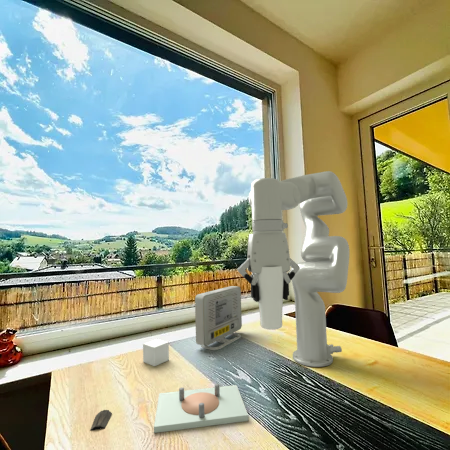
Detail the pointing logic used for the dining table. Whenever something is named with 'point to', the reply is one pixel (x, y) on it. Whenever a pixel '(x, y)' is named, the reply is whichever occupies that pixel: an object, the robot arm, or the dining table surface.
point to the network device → (218, 316)
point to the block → (101, 420)
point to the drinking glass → (270, 297)
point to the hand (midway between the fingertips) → (270, 299)
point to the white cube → (155, 352)
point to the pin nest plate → (199, 408)
